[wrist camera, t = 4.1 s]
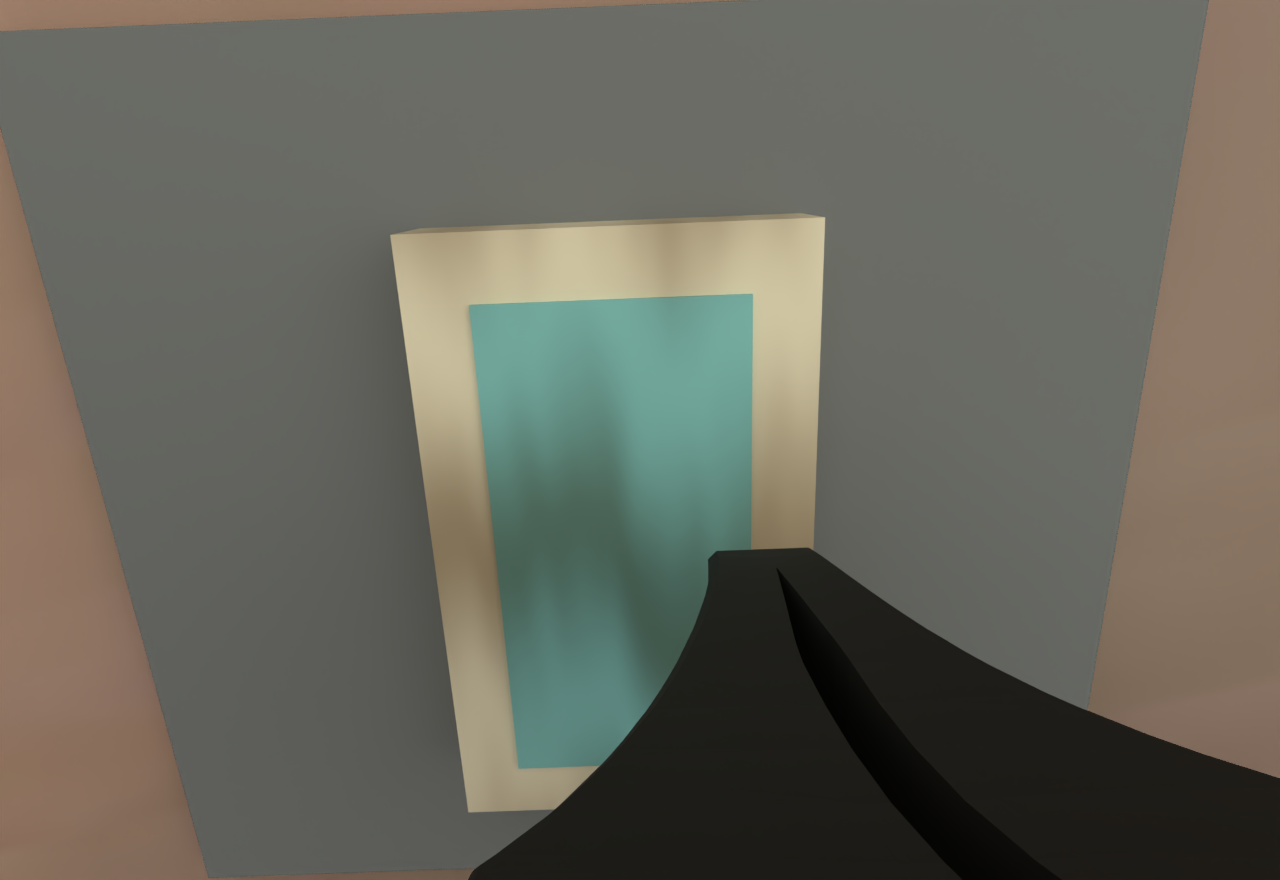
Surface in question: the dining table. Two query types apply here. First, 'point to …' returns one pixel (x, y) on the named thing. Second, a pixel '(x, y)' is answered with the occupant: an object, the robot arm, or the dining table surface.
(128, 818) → the dining table surface
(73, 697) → the dining table surface
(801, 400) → the slab
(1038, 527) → the mat
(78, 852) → the dining table surface
